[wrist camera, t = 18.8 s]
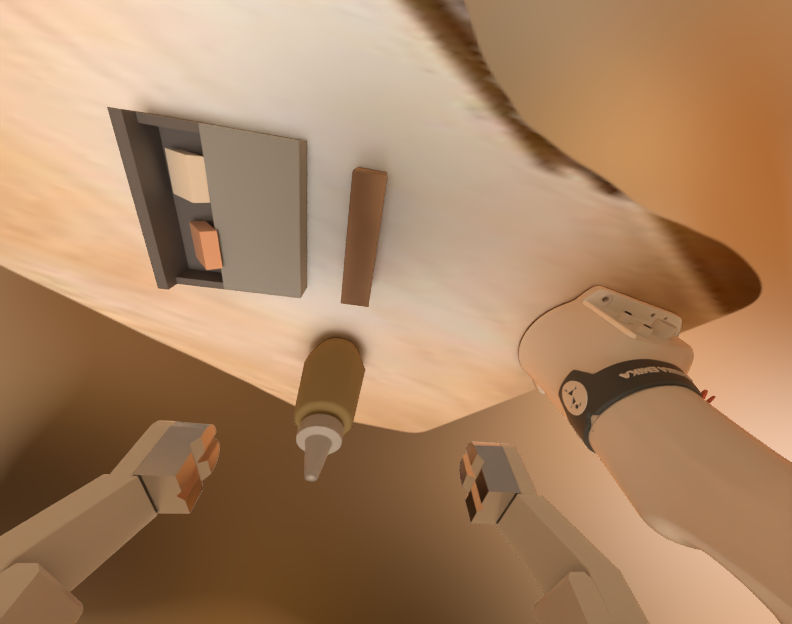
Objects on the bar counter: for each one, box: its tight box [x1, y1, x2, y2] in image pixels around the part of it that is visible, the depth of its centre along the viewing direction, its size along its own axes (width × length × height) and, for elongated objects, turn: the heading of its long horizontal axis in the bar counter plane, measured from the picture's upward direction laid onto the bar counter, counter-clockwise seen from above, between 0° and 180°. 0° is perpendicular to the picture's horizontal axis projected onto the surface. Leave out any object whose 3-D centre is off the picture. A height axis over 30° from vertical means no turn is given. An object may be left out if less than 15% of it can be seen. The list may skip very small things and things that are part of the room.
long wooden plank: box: [341, 167, 387, 307], centre depth 30 cm, size 3×13×6 cm, turn 170°
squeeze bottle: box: [294, 338, 365, 481], centre depth 33 cm, size 8×8×18 cm
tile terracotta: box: [189, 221, 222, 270], centre depth 30 cm, size 4×4×2 cm
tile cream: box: [165, 148, 210, 203], centre depth 27 cm, size 4×4×2 cm
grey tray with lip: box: [107, 107, 307, 298], centre depth 29 cm, size 14×16×4 cm
